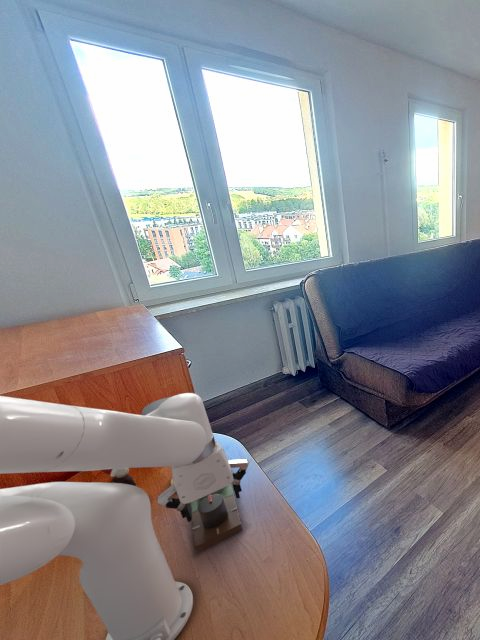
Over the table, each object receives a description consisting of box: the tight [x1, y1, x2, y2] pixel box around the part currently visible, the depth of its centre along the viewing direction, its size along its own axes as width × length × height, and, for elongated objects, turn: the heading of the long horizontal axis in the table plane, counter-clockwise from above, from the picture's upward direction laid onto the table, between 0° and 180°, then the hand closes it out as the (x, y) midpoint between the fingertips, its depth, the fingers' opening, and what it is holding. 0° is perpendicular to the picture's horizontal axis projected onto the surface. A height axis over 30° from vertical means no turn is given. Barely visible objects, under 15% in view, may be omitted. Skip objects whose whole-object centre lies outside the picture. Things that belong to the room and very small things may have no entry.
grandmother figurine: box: [109, 468, 138, 487], centre depth 81 cm, size 8×4×13 cm, turn 84°
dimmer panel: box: [191, 494, 244, 554], centre depth 78 cm, size 10×9×2 cm
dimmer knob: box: [198, 494, 228, 528], centre depth 77 cm, size 5×5×5 cm
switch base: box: [190, 484, 236, 514], centre depth 86 cm, size 10×9×3 cm
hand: (214, 505), depth 77 cm, fingers open, 9 cm apart
